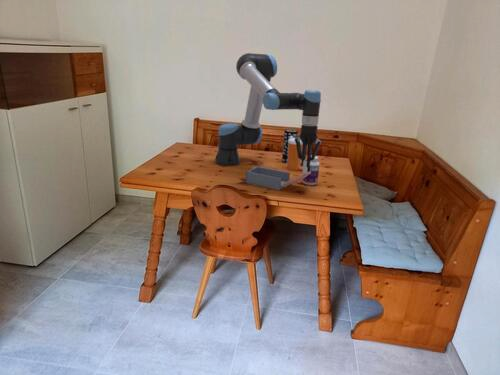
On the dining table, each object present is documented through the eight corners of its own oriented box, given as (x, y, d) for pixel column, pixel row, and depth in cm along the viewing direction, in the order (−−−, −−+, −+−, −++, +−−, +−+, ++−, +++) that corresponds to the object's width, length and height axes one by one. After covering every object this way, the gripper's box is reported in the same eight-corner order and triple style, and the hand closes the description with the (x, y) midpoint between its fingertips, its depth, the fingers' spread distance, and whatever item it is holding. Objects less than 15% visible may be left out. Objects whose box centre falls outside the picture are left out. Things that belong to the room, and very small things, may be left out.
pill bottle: (300, 180, 188) (303, 154, 183) (314, 181, 189) (318, 155, 184) (303, 185, 180) (306, 158, 175) (318, 186, 181) (322, 159, 176)
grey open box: (245, 182, 179) (245, 171, 177) (256, 176, 190) (257, 166, 188) (279, 190, 171) (280, 178, 169) (288, 183, 182) (290, 172, 180)
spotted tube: (296, 161, 226) (299, 130, 219) (293, 164, 219) (296, 132, 212) (283, 159, 228) (286, 129, 222) (280, 162, 221) (283, 131, 214)
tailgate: (279, 186, 170) (301, 177, 164) (289, 179, 182) (310, 170, 175) (280, 188, 170) (302, 179, 164) (290, 181, 182) (311, 172, 175)
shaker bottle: (300, 171, 204) (303, 137, 198) (284, 169, 206) (288, 136, 199) (300, 167, 213) (304, 135, 206) (286, 165, 214) (289, 133, 207)
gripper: (293, 124, 162) (289, 172, 169) (321, 127, 156) (315, 177, 164) (298, 122, 168) (294, 169, 175) (325, 125, 162) (319, 173, 170)
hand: (304, 173), depth 170 cm, fingers closed
